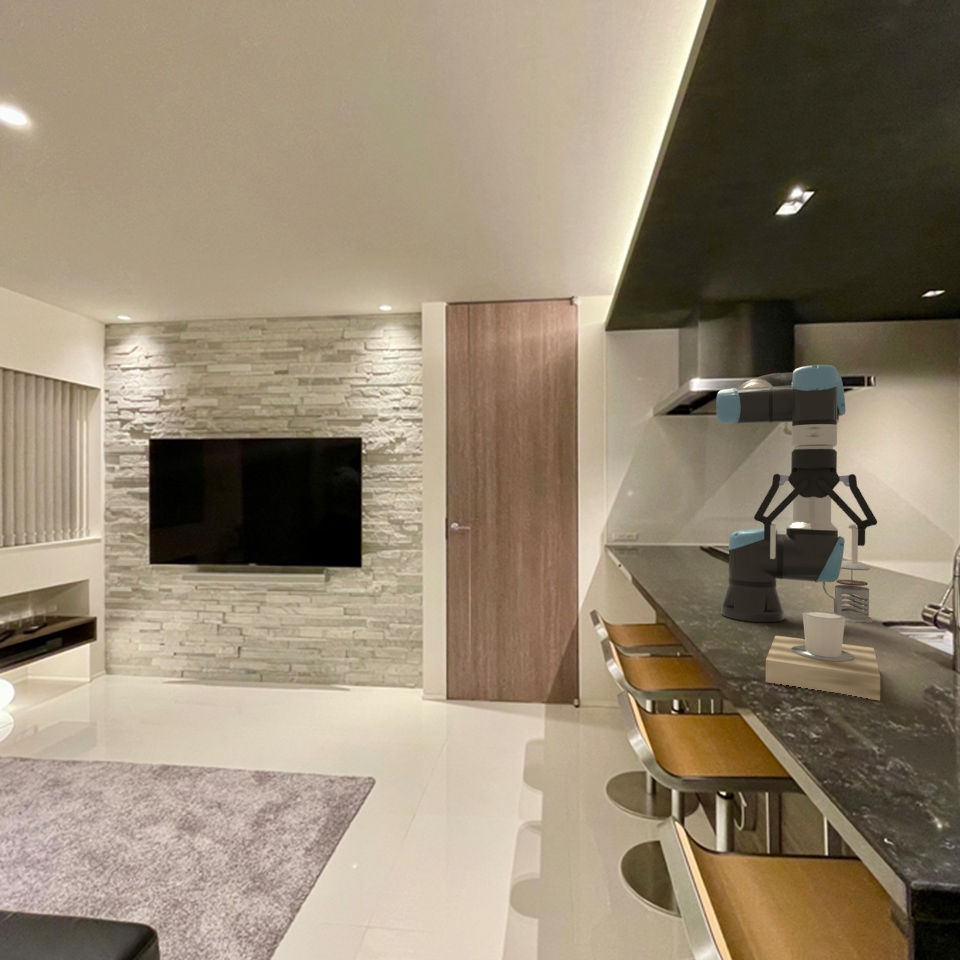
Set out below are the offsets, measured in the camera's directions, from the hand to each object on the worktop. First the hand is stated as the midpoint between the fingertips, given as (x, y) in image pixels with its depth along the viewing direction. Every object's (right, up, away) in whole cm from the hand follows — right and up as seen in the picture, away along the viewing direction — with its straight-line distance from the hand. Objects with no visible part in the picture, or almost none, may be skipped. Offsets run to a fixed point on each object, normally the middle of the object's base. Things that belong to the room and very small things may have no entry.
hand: (812, 560), depth 115 cm
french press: (+34, -22, +46) cm, 61 cm away
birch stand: (0, -21, -3) cm, 21 cm away
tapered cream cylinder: (0, -17, -3) cm, 17 cm away
